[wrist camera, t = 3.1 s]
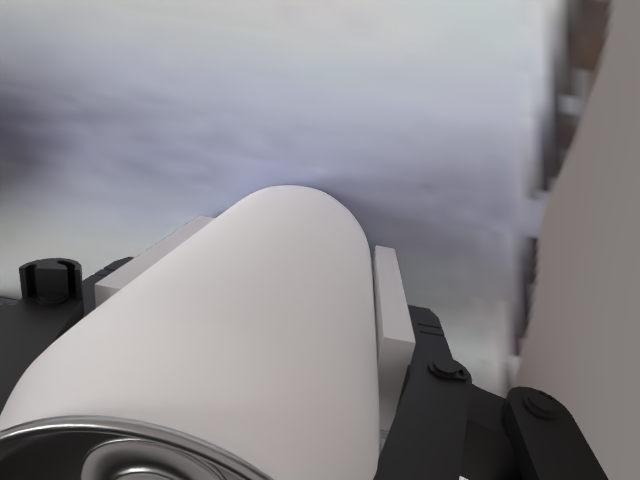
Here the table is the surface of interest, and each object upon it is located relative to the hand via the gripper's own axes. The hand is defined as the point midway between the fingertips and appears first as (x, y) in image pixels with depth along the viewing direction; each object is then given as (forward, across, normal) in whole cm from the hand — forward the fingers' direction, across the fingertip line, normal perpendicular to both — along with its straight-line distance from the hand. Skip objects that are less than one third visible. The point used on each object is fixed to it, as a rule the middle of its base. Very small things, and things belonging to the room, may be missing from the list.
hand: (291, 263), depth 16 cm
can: (+1, 0, 0) cm, 1 cm away
